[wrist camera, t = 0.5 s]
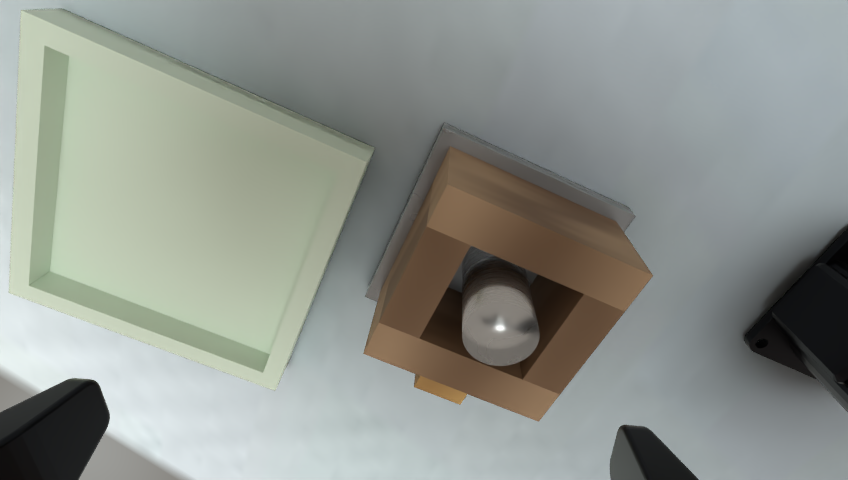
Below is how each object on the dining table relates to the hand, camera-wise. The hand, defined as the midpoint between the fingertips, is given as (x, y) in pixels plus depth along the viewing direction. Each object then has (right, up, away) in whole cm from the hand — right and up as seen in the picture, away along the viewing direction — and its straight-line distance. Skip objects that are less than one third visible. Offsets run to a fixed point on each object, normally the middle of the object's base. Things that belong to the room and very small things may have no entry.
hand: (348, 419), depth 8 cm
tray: (-9, +4, +12) cm, 16 cm away
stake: (+4, +3, +12) cm, 13 cm away
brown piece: (+4, +2, +11) cm, 12 cm away
